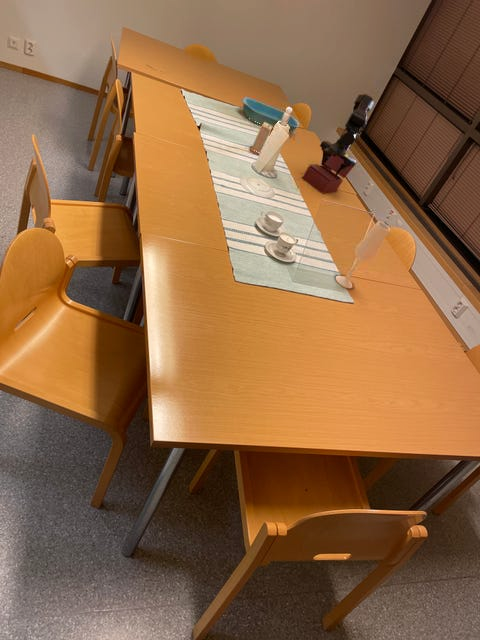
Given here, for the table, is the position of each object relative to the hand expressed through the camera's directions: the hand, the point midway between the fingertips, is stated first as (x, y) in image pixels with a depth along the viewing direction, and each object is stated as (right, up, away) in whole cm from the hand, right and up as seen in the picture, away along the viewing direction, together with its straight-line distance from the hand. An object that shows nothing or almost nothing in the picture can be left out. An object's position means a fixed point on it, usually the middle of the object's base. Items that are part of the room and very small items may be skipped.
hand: (328, 169), depth 230 cm
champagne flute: (-7, -60, -63) cm, 87 cm away
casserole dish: (-28, +42, +46) cm, 68 cm away
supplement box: (-35, +10, +2) cm, 37 cm away
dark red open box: (-4, -6, +4) cm, 8 cm away
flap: (+6, +4, +4) cm, 8 cm away
